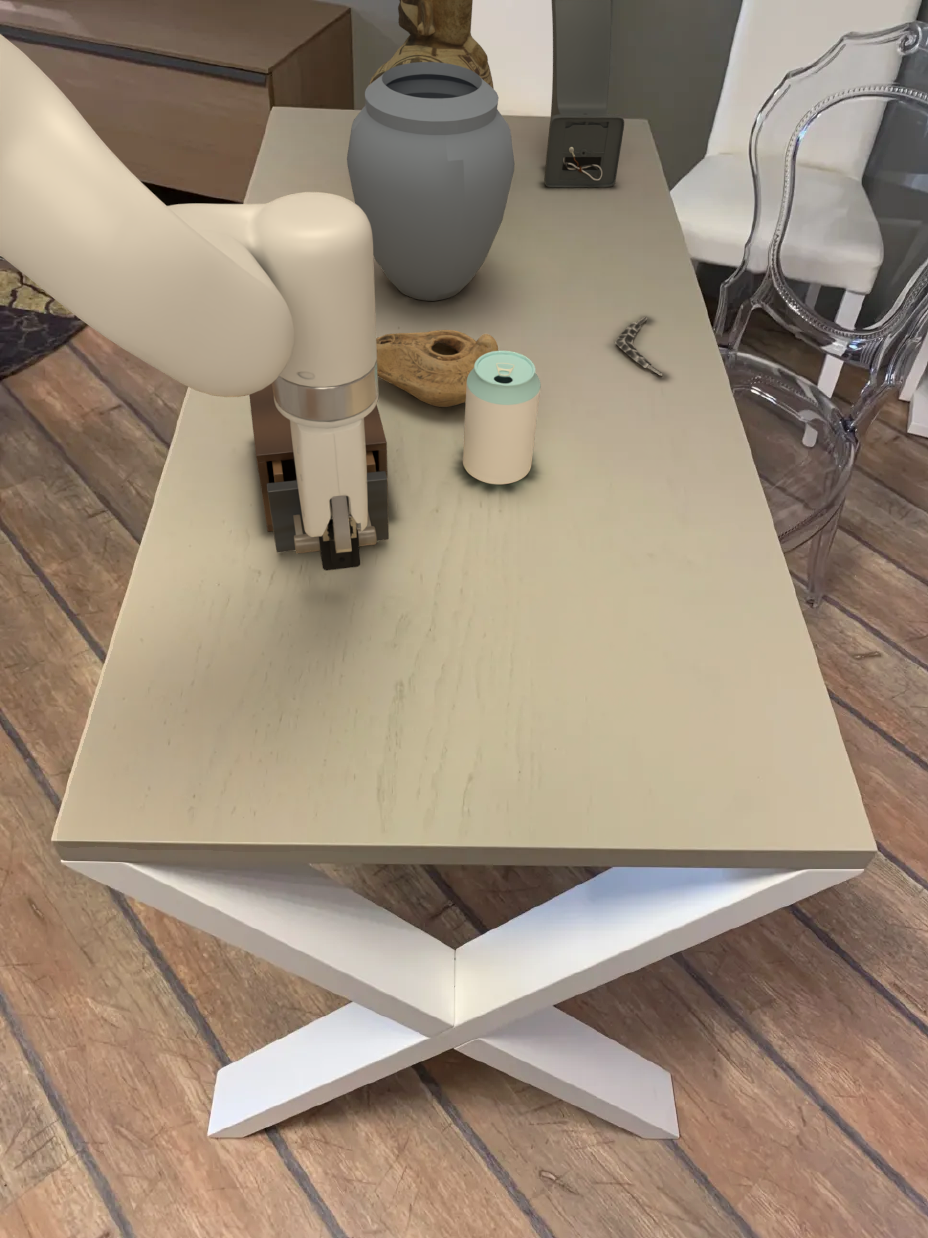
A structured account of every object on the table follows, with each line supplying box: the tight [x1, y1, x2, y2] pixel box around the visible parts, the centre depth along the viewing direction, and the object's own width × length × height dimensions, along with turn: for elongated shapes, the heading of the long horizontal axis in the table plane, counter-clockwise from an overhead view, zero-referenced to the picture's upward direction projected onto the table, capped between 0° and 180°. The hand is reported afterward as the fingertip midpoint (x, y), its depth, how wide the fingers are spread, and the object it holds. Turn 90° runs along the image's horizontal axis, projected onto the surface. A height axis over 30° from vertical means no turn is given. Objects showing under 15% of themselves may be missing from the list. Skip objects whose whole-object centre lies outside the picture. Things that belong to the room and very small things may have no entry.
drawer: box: [267, 451, 390, 554], centre depth 87 cm, size 17×10×7 cm, turn 12°
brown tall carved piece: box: [368, 0, 495, 90], centre depth 131 cm, size 19×21×30 cm
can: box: [462, 350, 542, 485], centre depth 93 cm, size 7×7×12 cm
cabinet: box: [248, 383, 390, 532], centre depth 91 cm, size 14×12×9 cm
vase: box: [346, 62, 515, 302], centre depth 112 cm, size 20×20×24 cm
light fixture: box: [543, 0, 625, 188], centre depth 139 cm, size 11×17×24 cm, turn 6°
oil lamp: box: [376, 329, 499, 408], centre depth 103 cm, size 11×15×8 cm
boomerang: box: [614, 316, 664, 377], centre depth 113 cm, size 13×1×5 cm
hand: (340, 561), depth 81 cm, fingers closed
